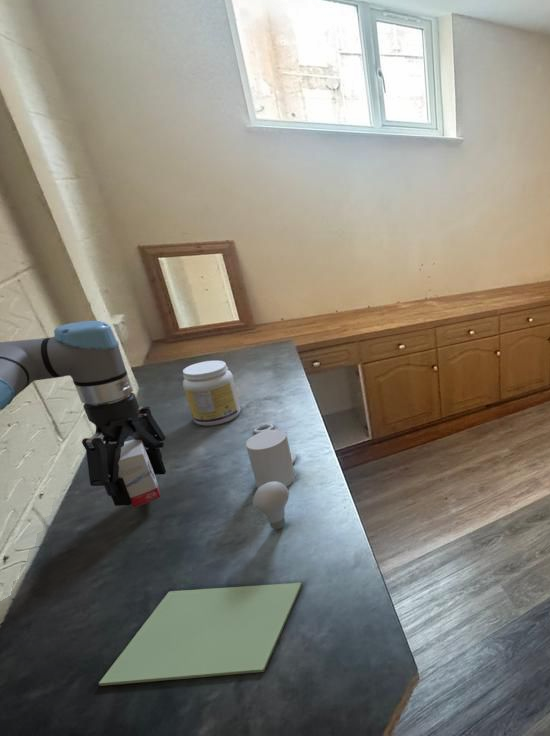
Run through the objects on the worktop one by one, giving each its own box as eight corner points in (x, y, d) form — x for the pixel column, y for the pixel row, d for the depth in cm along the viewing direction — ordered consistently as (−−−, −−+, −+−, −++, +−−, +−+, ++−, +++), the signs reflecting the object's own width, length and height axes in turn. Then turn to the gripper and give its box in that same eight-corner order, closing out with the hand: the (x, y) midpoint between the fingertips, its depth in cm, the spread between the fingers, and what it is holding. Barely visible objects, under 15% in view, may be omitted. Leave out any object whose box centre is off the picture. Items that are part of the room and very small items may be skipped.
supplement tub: (203, 409, 126) (189, 361, 120) (247, 405, 130) (235, 357, 124) (187, 430, 115) (170, 377, 109) (235, 424, 119) (221, 373, 113)
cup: (302, 471, 99) (293, 430, 95) (281, 494, 92) (271, 450, 88) (271, 469, 100) (262, 428, 96) (248, 491, 93) (237, 447, 88)
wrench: (277, 472, 100) (299, 463, 103) (275, 467, 99) (298, 458, 102) (252, 430, 116) (272, 424, 119) (250, 425, 115) (271, 419, 119)
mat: (99, 686, 56) (98, 683, 55) (169, 593, 69) (169, 591, 68) (264, 671, 58) (263, 669, 58) (302, 584, 71) (301, 582, 71)
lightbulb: (287, 512, 87) (278, 471, 83) (300, 526, 83) (291, 484, 79) (257, 528, 82) (245, 486, 78) (269, 544, 79) (257, 500, 75)
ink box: (161, 498, 87) (145, 453, 82) (130, 510, 83) (111, 463, 79) (157, 479, 93) (142, 436, 88) (128, 488, 89) (111, 444, 85)
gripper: (79, 426, 70) (119, 525, 78) (168, 375, 90) (193, 457, 98) (31, 427, 69) (77, 527, 77) (132, 375, 89) (160, 458, 97)
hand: (142, 488), depth 87 cm, fingers closed on ink box, 9 cm apart
